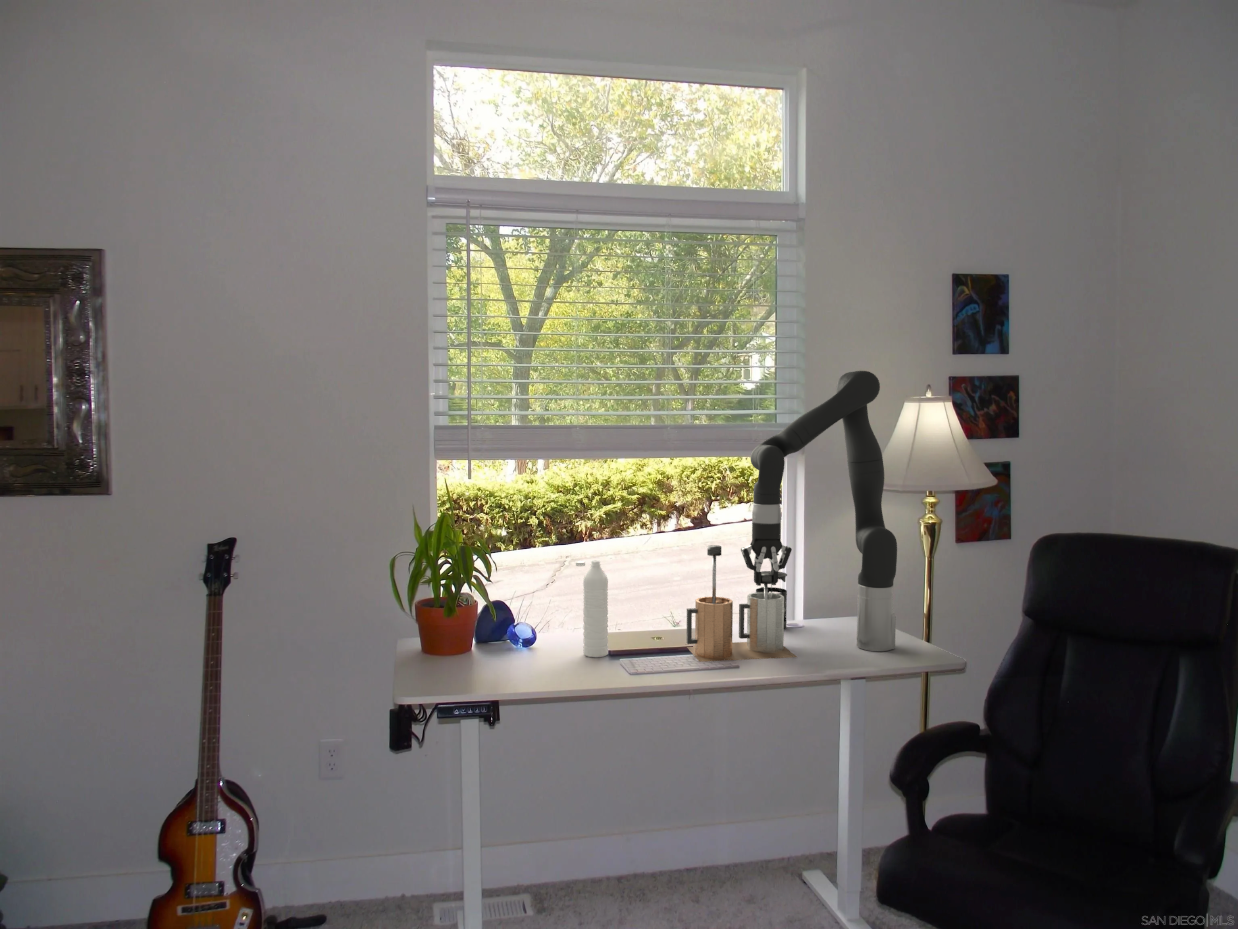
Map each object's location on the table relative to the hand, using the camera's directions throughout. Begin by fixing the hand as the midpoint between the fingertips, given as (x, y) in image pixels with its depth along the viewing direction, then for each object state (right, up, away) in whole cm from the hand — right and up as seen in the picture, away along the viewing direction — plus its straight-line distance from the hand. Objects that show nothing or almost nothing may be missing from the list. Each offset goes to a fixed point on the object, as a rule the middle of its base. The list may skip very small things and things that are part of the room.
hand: (765, 584), depth 231 cm
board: (-7, -18, -1) cm, 20 cm away
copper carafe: (-16, -17, -4) cm, 24 cm away
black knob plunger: (-14, -5, -5) cm, 16 cm away
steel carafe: (-1, -17, +1) cm, 17 cm away
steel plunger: (0, -14, +1) cm, 13 cm away
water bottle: (-46, -19, -1) cm, 50 cm away
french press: (+5, -17, +24) cm, 30 cm away
